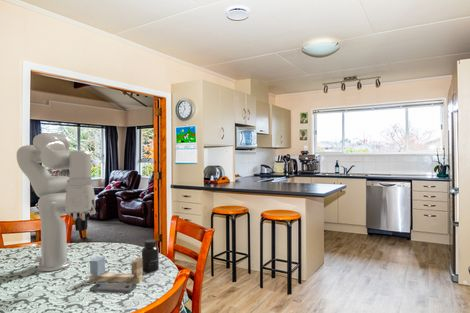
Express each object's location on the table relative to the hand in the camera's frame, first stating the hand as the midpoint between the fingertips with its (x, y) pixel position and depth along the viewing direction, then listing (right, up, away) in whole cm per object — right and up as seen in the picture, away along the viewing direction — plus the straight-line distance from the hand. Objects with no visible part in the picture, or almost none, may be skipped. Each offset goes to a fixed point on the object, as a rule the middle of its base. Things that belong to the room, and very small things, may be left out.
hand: (81, 229), depth 122 cm
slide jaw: (+6, -17, -3) cm, 18 cm away
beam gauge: (+14, -19, -4) cm, 24 cm away
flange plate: (+16, -19, -10) cm, 27 cm away
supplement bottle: (+24, -19, +9) cm, 32 cm away
